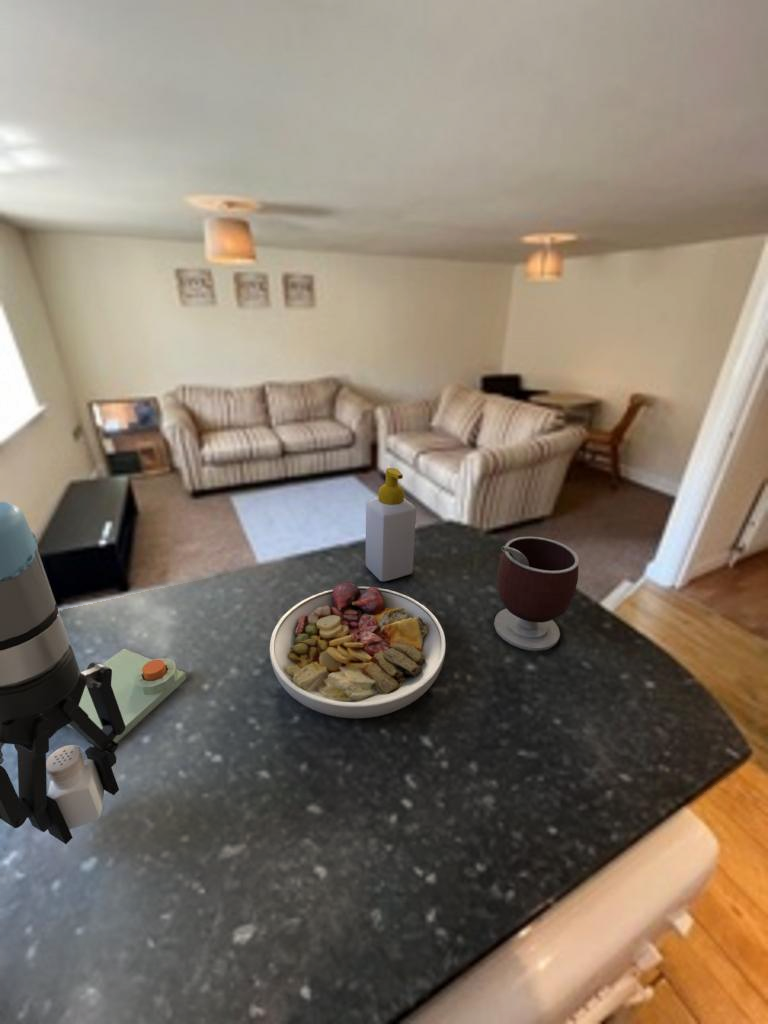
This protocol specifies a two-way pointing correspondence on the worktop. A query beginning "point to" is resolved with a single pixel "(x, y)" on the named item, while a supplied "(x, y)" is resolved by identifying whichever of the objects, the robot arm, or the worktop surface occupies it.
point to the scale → (134, 688)
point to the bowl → (357, 651)
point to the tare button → (154, 670)
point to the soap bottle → (390, 530)
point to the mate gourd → (534, 590)
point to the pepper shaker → (75, 786)
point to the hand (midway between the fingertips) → (85, 810)
